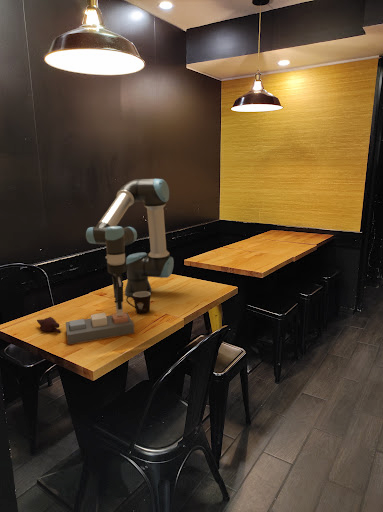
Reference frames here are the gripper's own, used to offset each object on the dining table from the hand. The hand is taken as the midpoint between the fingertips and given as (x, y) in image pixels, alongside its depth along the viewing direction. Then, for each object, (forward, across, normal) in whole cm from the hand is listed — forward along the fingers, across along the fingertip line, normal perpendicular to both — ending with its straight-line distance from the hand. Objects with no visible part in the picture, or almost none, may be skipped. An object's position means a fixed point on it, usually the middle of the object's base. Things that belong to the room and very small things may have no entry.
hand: (119, 315), depth 161 cm
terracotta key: (+4, 0, 0) cm, 4 cm away
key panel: (+7, 0, -9) cm, 11 cm away
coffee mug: (+7, -17, +13) cm, 23 cm away
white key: (+3, 0, -9) cm, 9 cm away
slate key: (+4, 0, -18) cm, 18 cm away
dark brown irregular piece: (+8, -11, -30) cm, 33 cm away
